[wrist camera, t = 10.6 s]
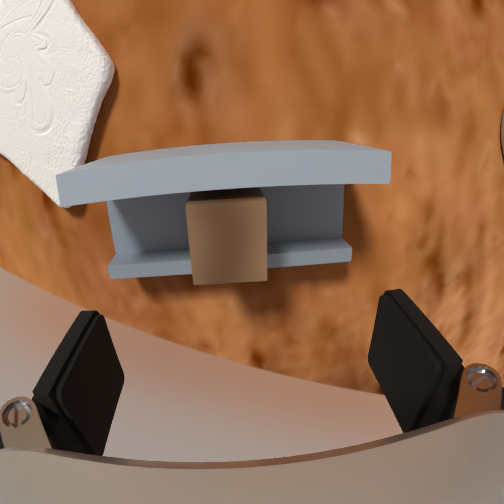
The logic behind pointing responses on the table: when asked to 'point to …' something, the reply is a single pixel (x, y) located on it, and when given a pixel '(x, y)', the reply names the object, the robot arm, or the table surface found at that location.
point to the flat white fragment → (49, 88)
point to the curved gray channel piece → (225, 177)
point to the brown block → (227, 235)
